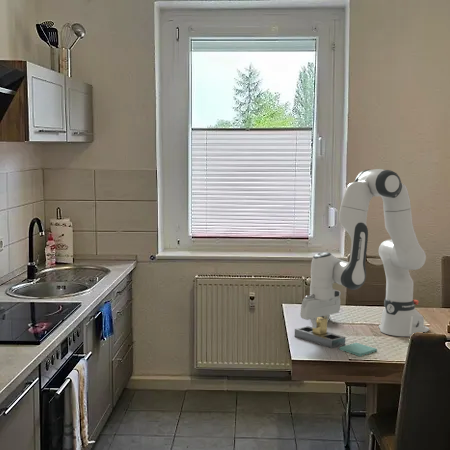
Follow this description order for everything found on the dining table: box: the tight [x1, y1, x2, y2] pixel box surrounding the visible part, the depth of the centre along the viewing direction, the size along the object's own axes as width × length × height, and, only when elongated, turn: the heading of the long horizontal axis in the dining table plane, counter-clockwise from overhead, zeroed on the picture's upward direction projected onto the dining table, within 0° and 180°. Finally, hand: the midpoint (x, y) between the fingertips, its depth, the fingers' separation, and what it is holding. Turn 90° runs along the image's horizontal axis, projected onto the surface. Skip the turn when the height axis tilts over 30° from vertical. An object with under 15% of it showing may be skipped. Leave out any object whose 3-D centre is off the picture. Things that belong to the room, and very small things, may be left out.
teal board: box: [339, 342, 378, 357], centre depth 247 cm, size 10×10×1 cm
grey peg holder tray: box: [294, 325, 346, 349], centre depth 260 cm, size 8×20×3 cm, turn 40°
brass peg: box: [313, 317, 328, 336], centre depth 259 cm, size 4×4×9 cm
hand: (319, 326), depth 259 cm, fingers closed on brass peg, 4 cm apart
